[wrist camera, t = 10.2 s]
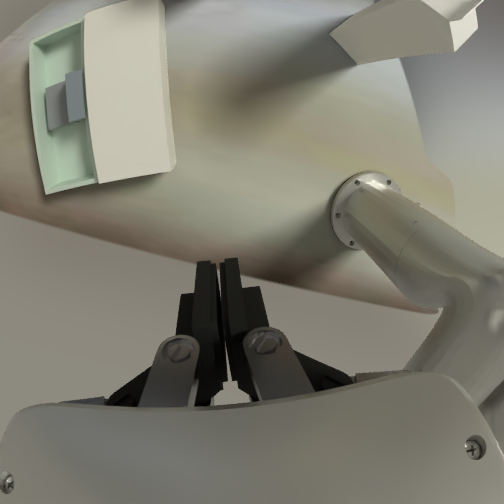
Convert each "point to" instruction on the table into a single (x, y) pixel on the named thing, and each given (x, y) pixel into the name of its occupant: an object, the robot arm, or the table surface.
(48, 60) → the box
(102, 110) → the cream rectangular block
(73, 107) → the slate tile
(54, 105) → the slate tile
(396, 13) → the milk
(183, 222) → the table surface
